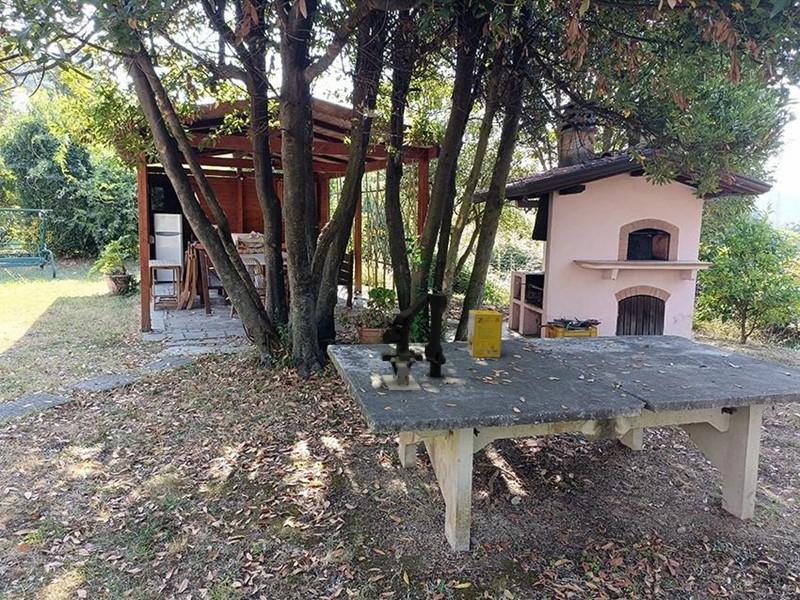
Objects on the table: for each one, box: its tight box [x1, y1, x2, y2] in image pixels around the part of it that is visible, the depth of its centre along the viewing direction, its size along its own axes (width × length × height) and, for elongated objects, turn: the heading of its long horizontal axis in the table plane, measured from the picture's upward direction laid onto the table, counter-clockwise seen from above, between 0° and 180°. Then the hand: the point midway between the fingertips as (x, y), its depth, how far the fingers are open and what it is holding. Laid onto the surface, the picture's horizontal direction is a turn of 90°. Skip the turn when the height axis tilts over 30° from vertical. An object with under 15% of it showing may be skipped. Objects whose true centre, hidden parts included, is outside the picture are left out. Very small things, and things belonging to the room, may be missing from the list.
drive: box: [394, 363, 410, 381], centre depth 241 cm, size 9×5×6 cm, turn 11°
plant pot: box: [390, 349, 407, 365], centre depth 269 cm, size 9×9×9 cm
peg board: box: [381, 370, 422, 392], centre depth 241 cm, size 22×14×4 cm, turn 11°
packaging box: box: [466, 309, 504, 358], centre depth 310 cm, size 16×16×25 cm
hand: (401, 375), depth 241 cm, fingers closed on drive, 5 cm apart
